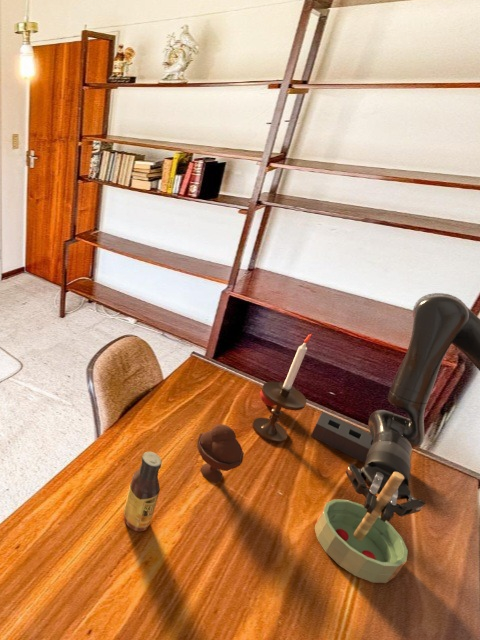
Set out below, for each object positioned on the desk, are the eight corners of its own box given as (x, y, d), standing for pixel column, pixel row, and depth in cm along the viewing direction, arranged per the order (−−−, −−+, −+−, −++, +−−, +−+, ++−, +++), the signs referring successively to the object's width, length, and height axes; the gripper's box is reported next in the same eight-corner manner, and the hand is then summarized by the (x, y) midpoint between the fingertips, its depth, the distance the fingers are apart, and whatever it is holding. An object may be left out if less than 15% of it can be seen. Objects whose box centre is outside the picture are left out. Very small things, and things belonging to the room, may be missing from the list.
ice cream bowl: (180, 462, 107) (193, 421, 101) (212, 452, 111) (226, 411, 105) (210, 496, 98) (225, 454, 92) (243, 483, 102) (260, 442, 96)
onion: (272, 399, 132) (279, 380, 128) (280, 412, 126) (288, 392, 123) (254, 397, 132) (261, 379, 129) (261, 410, 127) (269, 390, 123)
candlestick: (280, 420, 123) (320, 324, 108) (296, 447, 113) (343, 347, 98) (243, 415, 124) (278, 320, 109) (256, 442, 115) (296, 342, 100)
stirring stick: (363, 537, 87) (404, 475, 78) (361, 542, 86) (404, 480, 77) (353, 531, 88) (393, 470, 79) (352, 536, 87) (392, 475, 78)
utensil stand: (388, 457, 111) (396, 445, 109) (384, 473, 107) (392, 460, 105) (316, 423, 123) (322, 411, 120) (310, 436, 118) (316, 423, 116)
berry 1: (347, 538, 90) (351, 532, 89) (345, 546, 88) (349, 539, 87) (334, 530, 91) (338, 524, 90) (332, 538, 90) (336, 531, 89)
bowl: (397, 549, 88) (410, 531, 86) (389, 601, 79) (404, 582, 76) (321, 505, 98) (331, 487, 95) (307, 546, 88) (317, 528, 85)
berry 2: (373, 560, 86) (378, 553, 84) (372, 568, 84) (377, 562, 83) (360, 552, 87) (364, 545, 86) (358, 560, 86) (362, 553, 84)
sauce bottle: (141, 539, 88) (157, 478, 80) (117, 519, 92) (130, 460, 84) (155, 519, 93) (172, 459, 84) (131, 501, 97) (145, 443, 88)
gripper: (357, 435, 94) (343, 479, 83) (436, 473, 85) (432, 527, 74) (345, 457, 97) (330, 503, 86) (419, 495, 89) (413, 551, 77)
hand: (377, 514), depth 80 cm, fingers closed on stirring stick, 1 cm apart
